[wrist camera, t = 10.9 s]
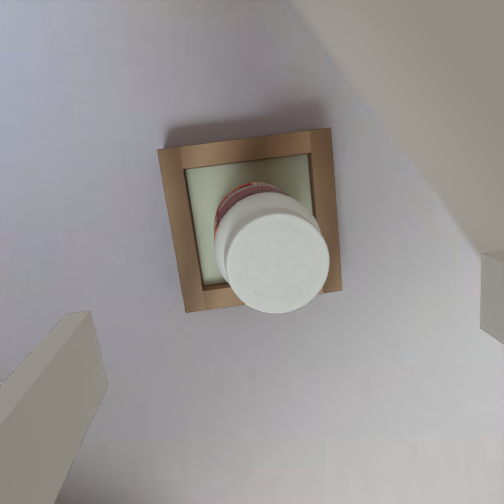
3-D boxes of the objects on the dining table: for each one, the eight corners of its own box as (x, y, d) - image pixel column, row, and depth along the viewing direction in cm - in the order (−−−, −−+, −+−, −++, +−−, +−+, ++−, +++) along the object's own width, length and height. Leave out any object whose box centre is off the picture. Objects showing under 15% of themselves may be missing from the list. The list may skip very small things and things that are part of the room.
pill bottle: (197, 213, 30) (186, 251, 20) (266, 163, 30) (294, 174, 19) (246, 278, 32) (261, 347, 21) (312, 231, 32) (363, 277, 21)
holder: (188, 297, 34) (185, 313, 31) (163, 149, 31) (157, 149, 28) (331, 277, 35) (342, 290, 32) (320, 129, 32) (330, 127, 29)
